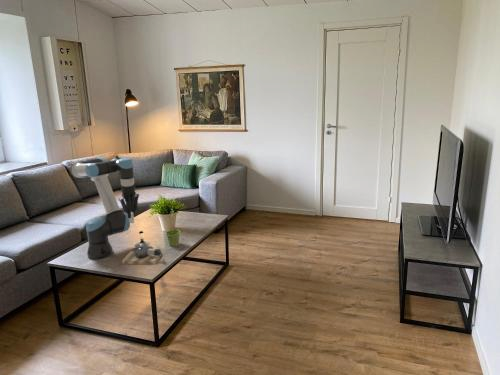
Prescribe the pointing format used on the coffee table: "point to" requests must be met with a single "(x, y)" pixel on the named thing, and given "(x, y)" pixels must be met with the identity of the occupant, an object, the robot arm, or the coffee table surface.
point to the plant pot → (173, 237)
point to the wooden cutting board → (140, 259)
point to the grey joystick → (142, 241)
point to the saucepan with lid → (145, 251)
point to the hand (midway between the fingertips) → (131, 222)
